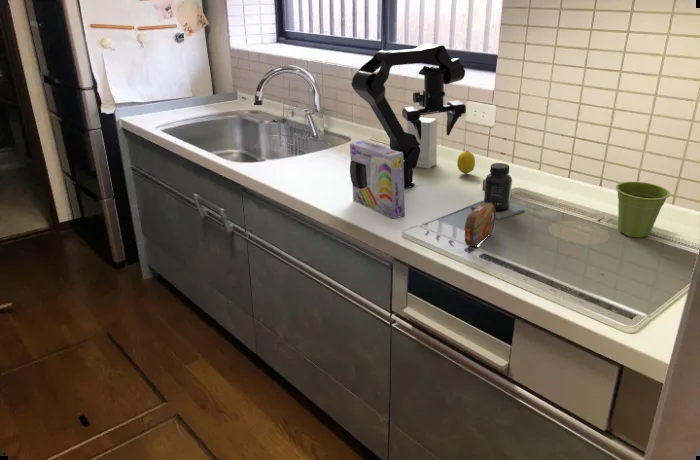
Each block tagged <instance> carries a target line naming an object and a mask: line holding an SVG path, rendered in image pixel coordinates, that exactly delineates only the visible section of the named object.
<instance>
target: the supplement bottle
mask: <svg viewBox="0 0 700 460" xmlns="http://www.w3.org/2000/svg"><path fill="white" fill-rule="evenodd" d="M509 173H510V165H509V164H507V163H502V162H495V163H491V164H490V169H489V173H488V174H487V175H486V177H485V179H486V182H485V191H484V199H483V202H485V203H493V204H494V205H495V211H496V212H503V211H506V210H508V209H509V206H510V204H511V195H512V194H511V193H512V185H513V178H512V176H511V175H510V174H509Z"/></svg>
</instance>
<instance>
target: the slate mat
mask: <svg viewBox="0 0 700 460" xmlns="http://www.w3.org/2000/svg"><path fill="white" fill-rule="evenodd" d="M481 203H482V202H480V203H476V204H473V205H471V206H470V209H472V208H473V209H472V210H474V209H475V208H476V207H477V206H478V205H480V204H481ZM523 212H525V208H522V207H520V206H517V205H515V204H513V203H510V206H509V209H508V210H506V211H503V212H496V217H495V218H496V219H495V220H497V219H498V220H501V219H504V218H508V217H510V216H513V215H517V214H520V213H523Z"/></svg>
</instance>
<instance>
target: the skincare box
mask: <svg viewBox="0 0 700 460" xmlns="http://www.w3.org/2000/svg"><path fill="white" fill-rule="evenodd" d="M419 119H420V120H421V140H419V138H418V136H417V133H416V130H415V127H414V125H413V123H411V122H410V121H407V120H406V127H407V128H406V130H407V131H406V132H407V133H410V134H413V135H415V137H416V139H417V141H418V143H420V145H419V147H420V155H419V158H418V162H417V165H416V168H423V169H427V170H428V169H431V168H432V167H434V166H436V164H437V161H438V160H437V157H438V156H437V155H438V154H437V152H438V151H437V150H438V149H437V148H438V147H437V146H438V118H433V117H431V118H430V117H421V116H420V118H419Z"/></svg>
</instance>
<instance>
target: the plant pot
mask: <svg viewBox="0 0 700 460" xmlns="http://www.w3.org/2000/svg"><path fill="white" fill-rule="evenodd" d="M615 189H616V191H617V199H618V210H617V211H618V213H617V215H618V217H617V219H618V220H617V222H618V223H617V230H618V232H619V233H623V235H626V236H627V237H631V238H636V239H637V238H638V239H641V238H644V237H649V236H650V234H651V232H652V230H653V228H654V225H655V222H656V220H657V219H658V216H659V214H660V211H661V209H662V207H663V205H665V202H666V200H667V199H668V198H669V197H670V195H671V192H670V191H669V190H668V189H667V188H666V187H663V186H661V185H657V184H655V183H651V182H643V181H624V182H618V183H617V184H616V185H615Z"/></svg>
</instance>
